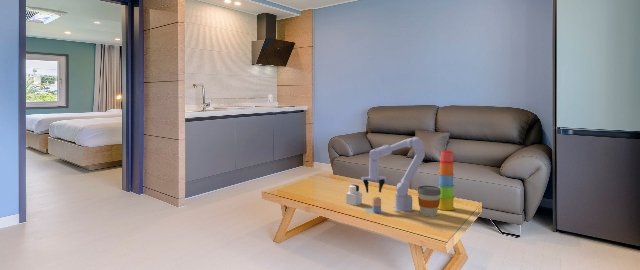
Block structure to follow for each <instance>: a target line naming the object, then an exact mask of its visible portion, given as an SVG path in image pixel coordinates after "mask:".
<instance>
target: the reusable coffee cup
mask: <svg viewBox="0 0 640 270" xmlns="http://www.w3.org/2000/svg"><path fill="white" fill-rule="evenodd" d="M417 194H418V196H417V200H418V206H419V211H420V215H421V216H425V217H436V216H437V215H438V207H439V202H440V194H441V191H440V188H439V186H435V185H420V186H418V187H417Z"/></svg>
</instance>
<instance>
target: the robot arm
mask: <svg viewBox="0 0 640 270" xmlns="http://www.w3.org/2000/svg"><path fill="white" fill-rule="evenodd" d="M404 147H406V148H412V149H413V151H414V157H413V158H412V160H411V163H410V164H409V166H408V168H407V170H406V171H405V174H404V175H403V177H402V178H401V180H400V181H399V182H398V183H397V184H396V185H395V189H396V193H395V201H394V202H395V203H394V204H395V206H393V209H394V210H395V211H396V212H413V211H414V210H413V196H412V194H409V193H408V192H409V188H410V184H411V182H412V180H413V179H414V176H415V174H416V173H417V171H418V169H419V167H420V165H421V164H422V162H423V160H424V158H425V156H426V154H425V153H426V152H425V144H424V142H423V140H422V139H421V138H420V137H418V136H413V137H411V138H410V137H409V138H406V139H403V140H402V141H399V142H396V143H393V144H391V145H389V144H383V145H382V146H379V147H375V148H374V149H373V148H372V149H371V150H370V151H369V153H368V157H369V162H368V167H369V168H368V176H361V181H362V182H363V184H364V187H365V190H366V193H367V194H369V181H378V193H382V189H383V188H384V187H383V186H384V184H385V182H386V181H387V177H386V176H381V175H379V174H380V173H379V172H380V169H379V168H380V162H379V158H383V157H386V156H388V155H391V154H392V152H393V151H396V150H398V149H402V148H404Z"/></svg>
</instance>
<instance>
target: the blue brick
mask: <svg viewBox="0 0 640 270" xmlns="http://www.w3.org/2000/svg"><path fill="white" fill-rule="evenodd" d="M371 208H372V211H373V212H374V213H373V214H382V213H381V209H382V205H381V206H374V205H373V204H372V207H371Z"/></svg>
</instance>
